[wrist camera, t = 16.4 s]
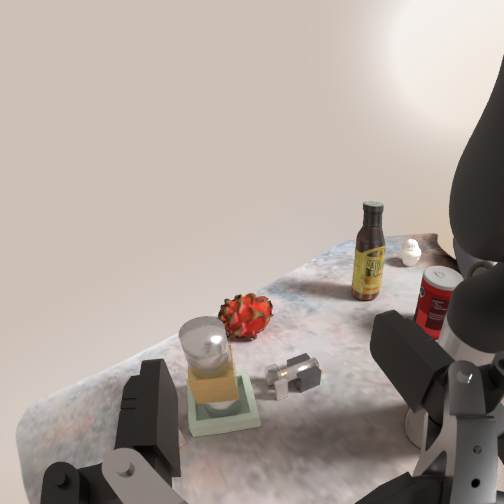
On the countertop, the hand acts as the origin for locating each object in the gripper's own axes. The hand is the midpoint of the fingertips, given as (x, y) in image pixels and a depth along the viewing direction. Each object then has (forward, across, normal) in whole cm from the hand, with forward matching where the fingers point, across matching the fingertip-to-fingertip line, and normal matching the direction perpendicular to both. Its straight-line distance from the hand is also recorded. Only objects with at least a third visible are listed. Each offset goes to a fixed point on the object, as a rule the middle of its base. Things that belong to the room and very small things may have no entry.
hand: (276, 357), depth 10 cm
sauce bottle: (+38, -29, +26) cm, 55 cm away
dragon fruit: (+35, -3, +26) cm, 44 cm away
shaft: (+20, -7, +26) cm, 33 cm away
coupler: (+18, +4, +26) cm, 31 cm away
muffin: (+46, -48, +26) cm, 72 cm away
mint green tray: (+18, +4, +26) cm, 32 cm away
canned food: (+22, -35, +26) cm, 49 cm away
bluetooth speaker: (+33, -60, +26) cm, 73 cm away
